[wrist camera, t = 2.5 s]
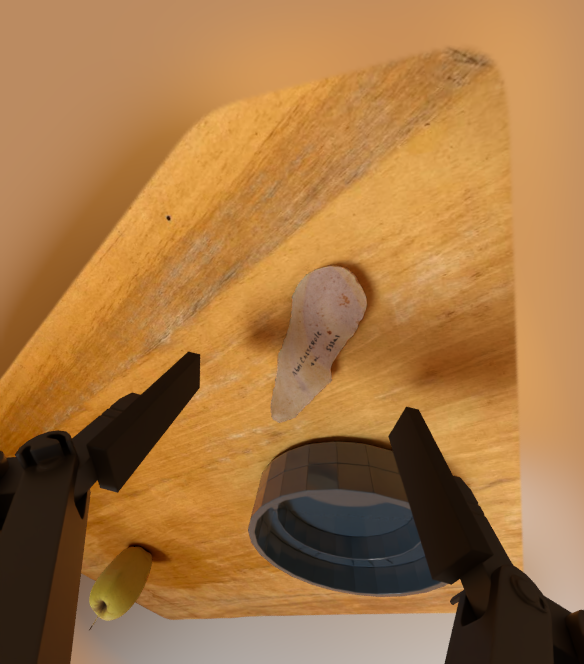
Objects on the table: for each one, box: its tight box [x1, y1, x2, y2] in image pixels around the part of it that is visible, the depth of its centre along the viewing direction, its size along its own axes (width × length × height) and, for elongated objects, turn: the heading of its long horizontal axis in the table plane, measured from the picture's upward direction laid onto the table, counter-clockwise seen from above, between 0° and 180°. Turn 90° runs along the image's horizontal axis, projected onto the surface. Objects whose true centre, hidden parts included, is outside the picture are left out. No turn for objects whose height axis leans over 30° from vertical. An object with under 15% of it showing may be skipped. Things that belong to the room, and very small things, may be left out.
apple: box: [90, 547, 152, 629], centre depth 39 cm, size 8×8×10 cm
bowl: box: [248, 441, 447, 597], centre depth 24 cm, size 20×20×5 cm
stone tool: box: [271, 265, 367, 423], centre depth 18 cm, size 5×2×15 cm
